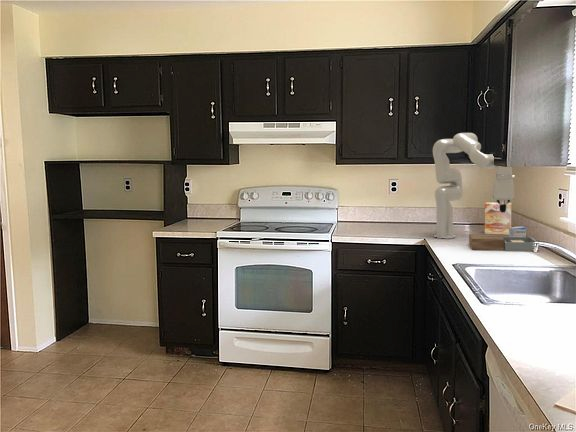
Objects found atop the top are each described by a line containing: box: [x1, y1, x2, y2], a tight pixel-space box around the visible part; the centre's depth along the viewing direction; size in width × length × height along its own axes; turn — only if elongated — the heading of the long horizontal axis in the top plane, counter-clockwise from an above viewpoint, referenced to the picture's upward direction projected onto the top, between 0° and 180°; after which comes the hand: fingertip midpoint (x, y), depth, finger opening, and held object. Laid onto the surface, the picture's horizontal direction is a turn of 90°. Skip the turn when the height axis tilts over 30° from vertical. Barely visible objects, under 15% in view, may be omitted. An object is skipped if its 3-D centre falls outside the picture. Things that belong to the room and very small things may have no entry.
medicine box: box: [508, 226, 527, 237], centre depth 281 cm, size 8×4×9 cm, turn 105°
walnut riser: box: [468, 233, 505, 252], centre depth 268 cm, size 16×16×6 cm
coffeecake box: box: [484, 202, 513, 236], centre depth 312 cm, size 15×7×20 cm, turn 62°
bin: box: [502, 236, 540, 253], centre depth 264 cm, size 18×16×4 cm
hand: (502, 212), depth 264 cm, fingers closed
